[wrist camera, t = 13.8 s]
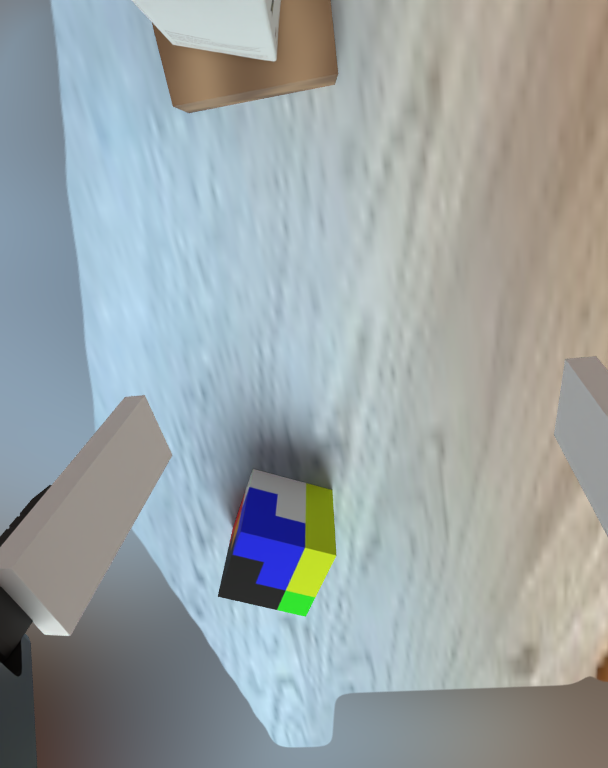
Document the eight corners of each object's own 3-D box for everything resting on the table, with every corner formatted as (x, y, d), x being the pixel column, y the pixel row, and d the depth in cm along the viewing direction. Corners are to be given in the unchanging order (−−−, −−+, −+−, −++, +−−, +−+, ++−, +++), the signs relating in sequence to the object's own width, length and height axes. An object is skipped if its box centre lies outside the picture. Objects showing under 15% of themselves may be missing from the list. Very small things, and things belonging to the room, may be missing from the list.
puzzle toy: (252, 468, 52) (240, 531, 43) (332, 489, 53) (336, 555, 44) (232, 527, 56) (217, 596, 47) (306, 546, 57) (305, 616, 48)
